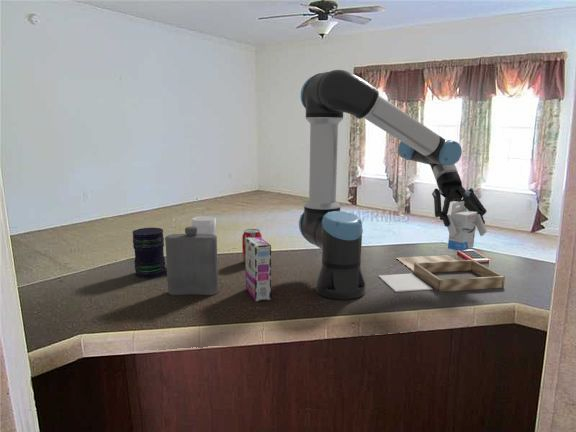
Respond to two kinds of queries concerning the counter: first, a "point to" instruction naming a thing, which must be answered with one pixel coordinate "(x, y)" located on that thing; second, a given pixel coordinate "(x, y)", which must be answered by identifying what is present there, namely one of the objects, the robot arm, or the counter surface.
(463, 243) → the ink box
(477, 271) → the mailer box
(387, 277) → the mat
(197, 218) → the cup
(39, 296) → the counter surface
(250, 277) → the candy bar box
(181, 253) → the flask
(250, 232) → the soda can
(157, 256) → the storage jar
